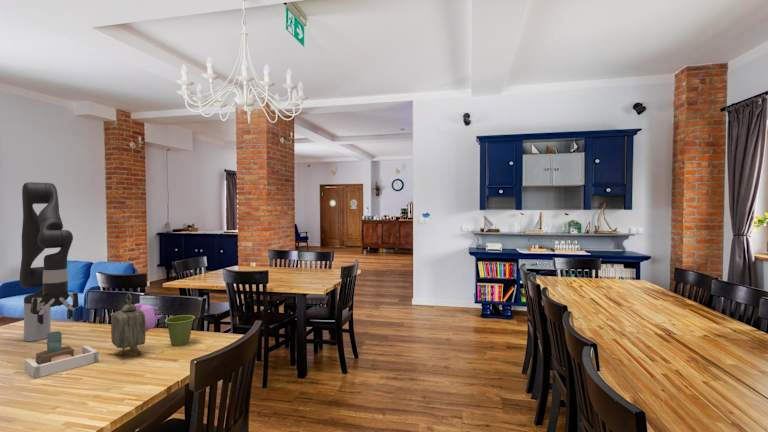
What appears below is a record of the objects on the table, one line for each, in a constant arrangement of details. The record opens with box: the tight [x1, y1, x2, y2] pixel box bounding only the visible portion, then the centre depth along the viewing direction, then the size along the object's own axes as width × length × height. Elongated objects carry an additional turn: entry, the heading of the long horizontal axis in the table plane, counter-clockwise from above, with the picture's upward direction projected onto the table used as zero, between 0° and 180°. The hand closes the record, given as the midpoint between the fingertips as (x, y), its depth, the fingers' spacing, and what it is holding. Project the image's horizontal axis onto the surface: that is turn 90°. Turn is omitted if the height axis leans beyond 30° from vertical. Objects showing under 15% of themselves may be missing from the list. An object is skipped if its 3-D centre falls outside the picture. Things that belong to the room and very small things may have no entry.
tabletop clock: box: [110, 292, 147, 356], centre depth 159 cm, size 14×9×25 cm, turn 47°
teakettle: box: [110, 303, 162, 330], centre depth 195 cm, size 17×17×12 cm
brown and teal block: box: [35, 330, 75, 365], centre depth 151 cm, size 7×10×11 cm
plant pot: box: [164, 314, 196, 347], centre depth 172 cm, size 12×12×11 cm
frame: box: [24, 345, 100, 379], centre depth 146 cm, size 12×19×4 cm, turn 145°
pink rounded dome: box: [51, 355, 72, 362], centre depth 147 cm, size 6×6×3 cm
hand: (55, 321), depth 151 cm, fingers open, 8 cm apart
